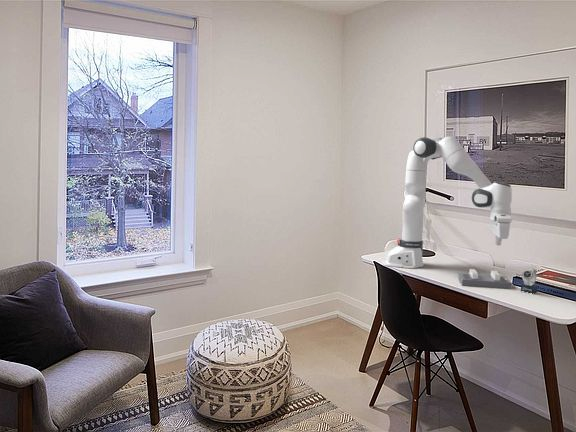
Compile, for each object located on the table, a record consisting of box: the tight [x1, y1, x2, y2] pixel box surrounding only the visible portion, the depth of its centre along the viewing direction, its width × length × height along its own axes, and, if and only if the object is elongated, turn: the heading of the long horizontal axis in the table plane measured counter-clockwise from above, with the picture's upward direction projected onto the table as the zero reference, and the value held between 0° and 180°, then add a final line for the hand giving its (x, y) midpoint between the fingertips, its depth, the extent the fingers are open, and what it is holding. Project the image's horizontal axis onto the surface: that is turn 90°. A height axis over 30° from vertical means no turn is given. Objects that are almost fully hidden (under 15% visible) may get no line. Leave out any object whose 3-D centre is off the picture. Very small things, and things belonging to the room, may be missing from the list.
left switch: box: [468, 268, 479, 279], centre depth 238 cm, size 2×9×3 cm, turn 169°
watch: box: [520, 267, 539, 295], centre depth 225 cm, size 6×8×11 cm
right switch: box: [490, 270, 501, 281], centre depth 236 cm, size 2×9×3 cm, turn 169°
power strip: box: [457, 273, 513, 290], centre depth 238 cm, size 22×12×3 cm, turn 79°
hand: (498, 244), depth 234 cm, fingers closed
